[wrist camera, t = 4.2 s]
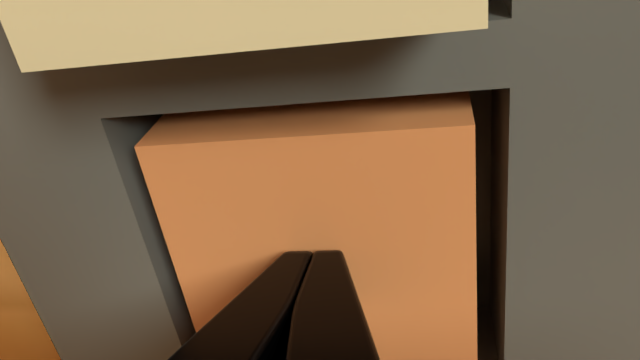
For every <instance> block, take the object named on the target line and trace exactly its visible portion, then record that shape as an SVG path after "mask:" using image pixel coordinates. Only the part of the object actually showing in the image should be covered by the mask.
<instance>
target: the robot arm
mask: <svg viewBox="0 0 640 360" xmlns="http://www.w3.org/2000/svg"><path fill="white" fill-rule="evenodd" d="M167 360H380V358H379V355H378V352H377V349H376V346H375V343H374V340H373V337H372V335H371V332H370V329H369V326H368V323H367V320H366V317H365V314H364V312H363V309H362V306H361V303H360V300H359V297H358V294H357V291H356V288H355V286H354V283H353V280H352V277H351V274H350V271H349V268H348V265H347V263H346V260H345V257H344V254H343V252H342V251H340V250H319V251H316V252H314V254H313V253H312V252H311V251H287V252H285V253H283V254H282V255H281V256H280V257H278V258H277V259H276V260H275V261H274V262H273V263H272V264H271V265H270V266H269V267H268V268H266V269H265V270H264V271H263V272H262V273H261V274H260V275H259V276H258V277H257V278H255V279H254V280H253V281H252V282H251V283H250V284H249V285H248V286H247V287H246V288H245V289H243V290H242V291H241V292H240V293H239V294H238V295H237V296H236V297H235V298H234V299H233V300H231V301H230V302H229V303H228V304H227V305H226V306H225V307H224V308H223V309H222V310H221V311H219V312H218V313H217V314H216V315H215V316H214V317H213V318H212V319H211V320H210V321H209V322H207V323H206V324H205V325H204V326H203V327H202V328H201V329H200V330H199V331H198V332H197V333H195V334H194V335H193V336H192V337H191V338H190V339H189V340H188V341H187V342H186V343H185V344H183V345H182V346H181V347H180V348H179V349H178V350H177V351H176V352H175V353H174V354H173V355H171V356H170V357H169V358H168V359H167Z"/></svg>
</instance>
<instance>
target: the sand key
mask: <svg viewBox="0 0 640 360" xmlns="http://www.w3.org/2000/svg"><path fill="white" fill-rule="evenodd" d="M0 21H1V24H2V26H3V29H4V31H5V34H6V36H7V38H8V41H9V43H10V46H11V48H12V51H13V53H14V55H15V58H16V60H17V63H18V65H19V68H20V70H21V72H22V73H23V72H34V71H44V70H55V69H65V68H76V67H86V66H97V65H108V64H118V63H129V62H139V61H150V60H160V59H171V58H182V57H192V56H203V55H213V54H224V53H234V52H245V51H256V50H266V49H277V48H287V47H298V46H308V45H319V44H330V43H340V42H351V41H361V40H372V39H382V38H393V37H404V36H414V35H425V34H435V33H446V32H457V31H467V30H478V29H488V0H0Z"/></svg>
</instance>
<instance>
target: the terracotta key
mask: <svg viewBox="0 0 640 360" xmlns="http://www.w3.org/2000/svg"><path fill="white" fill-rule="evenodd" d="M134 148H135V151H136V154H137V157H138V160H139V163H140V166H141V169H142V172H143V175H144V178H145V181H146V184H147V187H148V190H149V193H150V196H151V199H152V202H153V205H154V208H155V211H156V214H157V217H158V220H159V223H160V226H161V229H162V232H163V235H164V238H165V241H166V244H167V247H168V250H169V253H170V256H171V259H172V262H173V265H174V268H175V271H176V274H177V277H178V280H179V283H180V286H181V289H182V292H183V295H184V298H185V301H186V304H187V307H188V310H189V313H190V316H191V319H192V322H193V325H194V328H195V331H196V333H197V332H198V331H199V330H200V329H201V328H202V327H203V326H204V325H205V324H206V323H207V322H209V321H210V320H211V319H212V318H213V317H214V316H215V315H216V314H217V313H218V312H219V311H221V310H222V309H223V308H224V307H225V306H226V305H227V304H228V303H229V302H230V301H231V300H233V299H234V298H235V297H236V296H237V295H238V294H239V293H240V292H241V291H242V290H243V289H245V288H246V287H247V286H248V285H249V284H250V283H251V282H252V281H253V280H254V279H255V278H257V277H258V276H259V275H260V274H261V273H262V272H263V271H264V270H265V269H266V268H268V267H269V266H270V265H271V264H272V263H273V262H274V261H275V260H276V259H277V258H278V257H280V256H281V255H282V254H283V253H285V252H287V251H311V252H312V253H313V254H314V252H316V251H319V250H340V251H342V252H343V254H344V257H345V260H346V263H347V265H348V268H349V271H350V274H351V277H352V280H353V283H354V286H355V288H356V291H357V294H358V297H359V300H360V303H361V306H362V309H363V312H364V314H365V317H366V320H367V323H368V326H369V329H370V332H371V335H372V337H373V340H374V343H375V346H376V349H377V352H378V355H379V358H380V360H477V259H476V158H475V122H474V116H473V111H472V106H471V100H470V95H469V91H462V92H449V93H436V94H422V95H409V96H396V97H382V98H369V99H355V100H342V101H329V102H315V103H302V104H289V105H275V106H262V107H249V108H235V109H222V110H208V111H195V112H182V113H168V114H163V115H162V116H161V118H160V119H159V120H158V121H157V122H156V123H155V124H154V125H153V126H152V128H151V129H150V130H149V131H148V132H147V133H146V134H145V135H144V136H143V138H142V139H141V140H140V141H139V142H138V143H137V144H136V145H135V146H134Z"/></svg>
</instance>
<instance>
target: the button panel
mask: <svg viewBox="0 0 640 360" xmlns="http://www.w3.org/2000/svg"><path fill="white" fill-rule="evenodd" d="M462 91H469V95H470V100H471V106H472V111H473V116H474V122H475V158H476V259H477V360H640V0H488V29H478V30H467V31H457V32H446V33H435V34H425V35H414V36H404V37H393V38H382V39H372V40H361V41H351V42H340V43H330V44H319V45H308V46H298V47H287V48H277V49H266V50H256V51H245V52H234V53H224V54H213V55H203V56H192V57H182V58H171V59H160V60H150V61H139V62H129V63H118V64H108V65H97V66H86V67H76V68H65V69H55V70H44V71H34V72H23V73H22V72H21V70H20V68H19V65H18V63H17V60H16V58H15V55H14V53H13V51H12V48H11V46H10V43H9V41H8V38H7V36H6V34H5V31H4V29H3V26H2V24H1V21H0V239H1V241H2V243H3V245H4V247H5V249H6V251H7V253H8V255H9V257H10V259H11V261H12V263H13V265H14V267H15V269H16V271H17V273H18V275H19V277H20V279H21V281H22V283H23V285H24V287H25V289H26V291H27V293H28V295H29V297H30V299H31V301H32V303H33V305H34V307H35V308H36V310H37V312H38V314H39V316H40V318H41V320H42V322H43V324H44V326H45V328H46V330H47V332H48V334H49V336H50V338H51V340H52V342H53V344H54V346H55V348H56V350H57V352H58V354H59V356H60V358H61V360H167V359H168V358H169V357H170V356H171V355H173V354H174V353H175V352H176V351H177V350H178V349H179V348H180V347H181V346H182V345H183V344H185V343H186V342H187V341H188V340H189V339H190V338H191V337H192V336H193V335H194V334H195V333H196V331H195V328H194V325H193V322H192V319H191V316H190V313H189V310H188V307H187V304H186V301H185V298H184V295H183V292H182V289H181V286H180V283H179V280H178V277H177V274H176V271H175V268H174V265H173V262H172V259H171V256H170V253H169V250H168V247H167V244H166V241H165V238H164V235H163V232H162V229H161V226H160V223H159V220H158V217H157V214H156V211H155V208H154V205H153V202H152V199H151V196H150V193H149V190H148V187H147V184H146V181H145V178H144V175H143V172H142V169H141V166H140V163H139V160H138V157H137V154H136V151H135V148H134V146H135V145H136V144H137V143H138V142H139V141H140V140H141V139H142V138H143V136H144V135H145V134H146V133H147V132H148V131H149V130H150V129H151V128H152V126H153V125H154V124H155V123H156V122H157V121H158V120H159V119H160V118H161V116H162V115H163V114H168V113H182V112H195V111H208V110H222V109H235V108H249V107H262V106H275V105H289V104H302V103H315V102H329V101H342V100H355V99H369V98H382V97H396V96H409V95H422V94H436V93H449V92H462Z"/></svg>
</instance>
